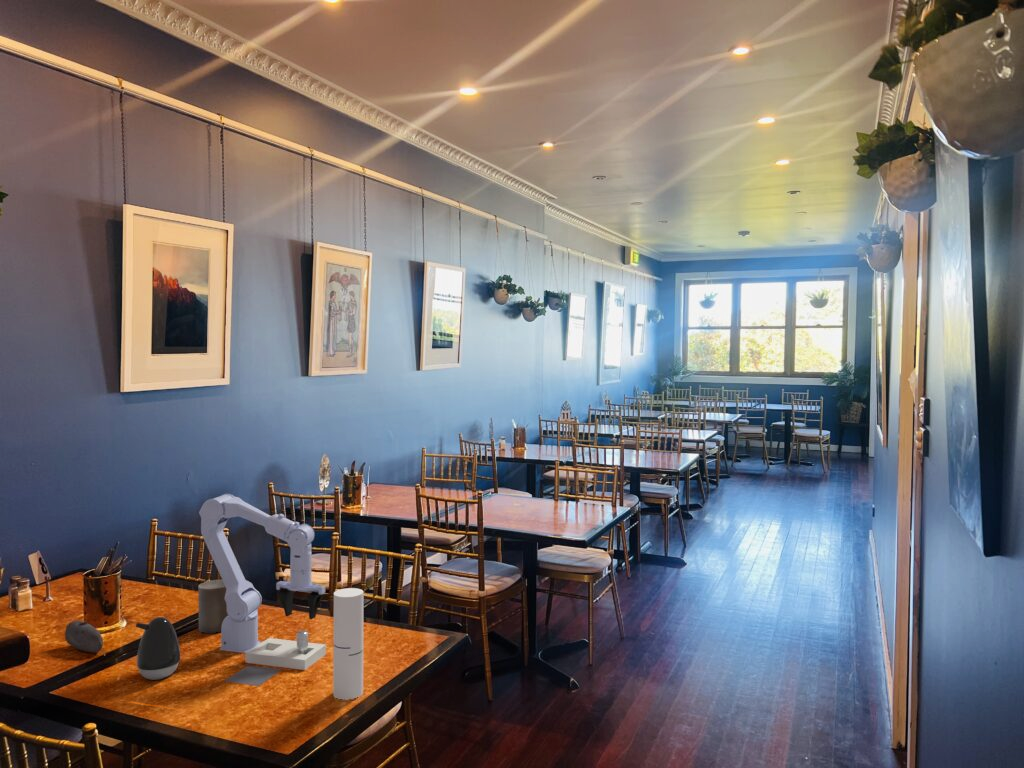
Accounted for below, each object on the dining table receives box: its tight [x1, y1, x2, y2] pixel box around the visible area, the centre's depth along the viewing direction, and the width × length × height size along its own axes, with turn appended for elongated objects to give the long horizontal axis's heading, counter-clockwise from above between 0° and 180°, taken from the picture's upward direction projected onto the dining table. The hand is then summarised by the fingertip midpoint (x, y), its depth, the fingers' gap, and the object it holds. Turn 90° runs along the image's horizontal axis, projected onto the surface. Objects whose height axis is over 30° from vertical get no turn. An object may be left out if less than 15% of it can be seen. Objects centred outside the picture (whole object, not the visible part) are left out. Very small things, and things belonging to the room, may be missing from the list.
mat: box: [224, 664, 282, 687], centre depth 184 cm, size 10×10×1 cm
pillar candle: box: [197, 579, 228, 634], centre depth 218 cm, size 10×10×15 cm
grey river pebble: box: [64, 620, 104, 653], centre depth 200 cm, size 15×5×7 cm, turn 57°
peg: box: [296, 630, 309, 655], centre depth 193 cm, size 3×3×8 cm
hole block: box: [244, 637, 327, 671], centre depth 195 cm, size 18×11×3 cm, turn 75°
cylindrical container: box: [332, 587, 364, 701], centre depth 174 cm, size 7×7×25 cm
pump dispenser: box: [135, 616, 182, 681], centre depth 184 cm, size 10×10×15 cm
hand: (300, 616), depth 201 cm, fingers open, 7 cm apart
